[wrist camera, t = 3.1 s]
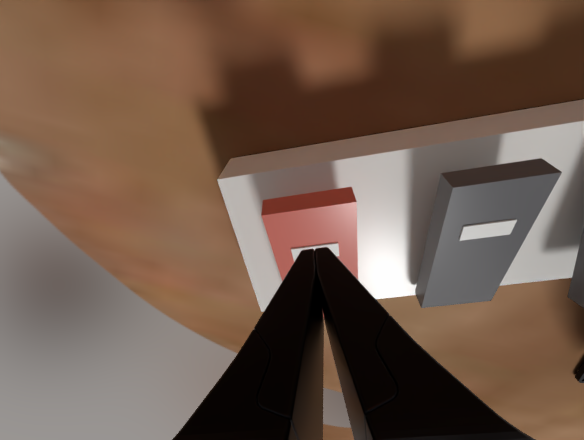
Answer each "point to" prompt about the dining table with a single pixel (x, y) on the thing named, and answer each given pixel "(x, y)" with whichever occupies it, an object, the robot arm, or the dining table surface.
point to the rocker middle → (480, 229)
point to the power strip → (415, 193)
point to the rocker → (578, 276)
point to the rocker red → (312, 226)
